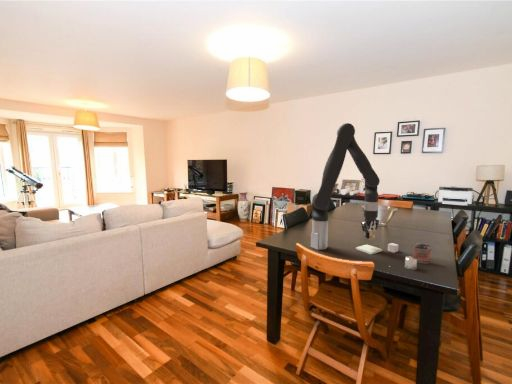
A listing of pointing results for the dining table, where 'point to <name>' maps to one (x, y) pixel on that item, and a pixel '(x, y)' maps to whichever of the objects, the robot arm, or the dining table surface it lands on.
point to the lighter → (422, 253)
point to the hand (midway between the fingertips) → (369, 237)
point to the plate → (369, 249)
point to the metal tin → (410, 263)
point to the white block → (393, 247)
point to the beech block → (371, 235)
